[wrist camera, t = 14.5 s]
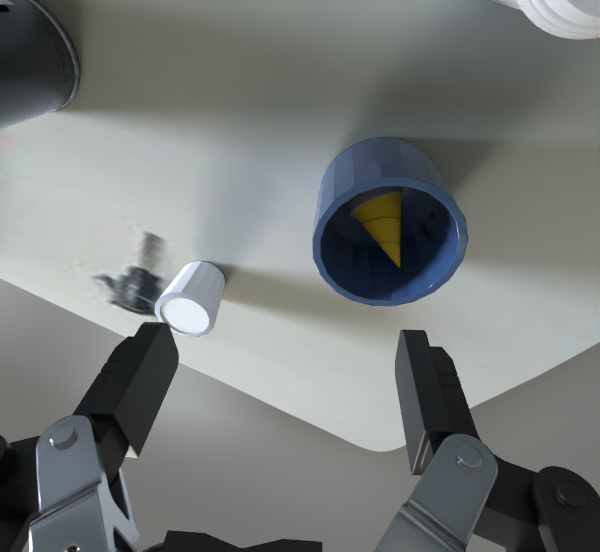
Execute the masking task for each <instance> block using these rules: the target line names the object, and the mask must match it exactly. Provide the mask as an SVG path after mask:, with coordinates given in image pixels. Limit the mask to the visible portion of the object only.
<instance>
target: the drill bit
mask: <svg viewBox="0 0 600 552" xmlns="http://www.w3.org/2000/svg"><path fill="white" fill-rule="evenodd" d="M404 196H405V195H404V192H403V190H402V187H401V186H381V187H378V188H375V189H371V190H368V191H365V192H362V193H359V194H357V195H356V196H354V197H353V198H352V199H351V200H350V201H349V202H348V204H347V209H348V212H349V215H350V217H351V218H354V219H357V220H358V221H359V222H360V223H361V224H362V225H363V227H364V228H365V229H366V230H367V231H368V232H369V234H370V235H371V236H372V237H373V238H374V239H375V241H379V243H378V244H379V245H380V246H381V248H382V249H383V250H384V251H385V252H386V254H387V255H388V256H389V257H390V258H391V259H392V260H393V261H394V263H395V264H396V265H397V266H398V267H400V226H401V223H400V221H401V201H402V200H403V198H404Z"/></svg>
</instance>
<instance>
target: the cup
mask: <svg viewBox="0 0 600 552" xmlns="http://www.w3.org/2000/svg"><path fill="white" fill-rule="evenodd" d="M381 186H401V187H402V190H403V192H404V195H405V196H404V198H403V200H402V201H401V221H400V223H401V226H400V267H398V266H397V265H396V264H395V263H394V261H393V260H392V259H391V258H390V257H389V256H388V255H387V254H386V252H385V251H384V250H383V249H382V248H381V246H380V245H379V244H378V243H379V241H375V239H374V238H373V237H372V236H371V235H370V234H369V232H368V231H367V230H366V229H365V228H364V227H363V225H362V224H361V223H360V222H359V221H358V220H357V219H354V218H351V217H350V215H349V212H348V209H347V204H348V202H349V201H350V200H351V199H352V198H353V197H354V196H356V195H357V194H359V193H362V192H365V191H368V190H371V189H375V188H378V187H381ZM467 242H468V234H467V227H466V219H465V217H464V215H463V213H462V212H461V210H460V208H459V206H458V204H457V203H456V201H455V199H454V197H453V196H452V194H451V192H450V190H449V189H448V187H447V185H446V183H445V182H444V180H443V178H442V176H441V174H440V173H439V171H438V169H437V168H436V166H435V164H434V163H433V161H432V159H431V158H430V157H429V156H428V155H427V154H426V153H425V152H424V151H423V150H422V149H421V148H419V147H418V146H416V145H415V144H413V143H411V142H409V141H405V140H402V139H399V138H393V137H377V138H371V139H367V140H364V141H361V142H358V143H356V144H354V145H352V146H350V147H349V148H347V149H346V150H344V151H343V152H342V153H341V154H339V155H338V156H337V157H336V158H335V159H334V161H333V162H332V163H331V164H330V166H329V167H328V169H327V170H326V172H325V174H324V176H323V179H322V182H321V186H320V190H319V194H318V201H317V209H316V216H315V223H314V231H313V238H312V243H313V259H314V262H315V264H316V267H317V269H318V271H319V274H320V276H321V277H322V278H323V279H324V280H325V281H326V282H327V283H328V285H329V286H330V287H331V288H332V289H333V290H334V291H336V292H337V293H339V294H341V295H343V296H344V297H346V298H348V299H349V300H352V301H355V302H359V303H363V304H366V305H371V306H396V305H401V304H406V303H411V302H413V301H416V300H418V299H421V298H423V297H425V296H427V295H429V294H431V293H433V292H435V291H436V290H437V289H439V288H440V287H441V286H442V285H443V284H445V283H446V282H447V281H448V280H449V279H450V278H451V277H452V276H453V274H454V273H455V271H456V270H457V268H458V267H459V265H460V264H461V262H462V260H463V257H464V254H465V250H466V246H467Z"/></svg>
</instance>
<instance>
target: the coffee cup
mask: <svg viewBox="0 0 600 552" xmlns="http://www.w3.org/2000/svg"><path fill="white" fill-rule="evenodd" d="M490 1H493V2H496V3H499V4H502V5H505V6H508V7H511V8H514V9H517V10H520V11H523V12H524V14H525V15H526V16H527V17H528V18H529V19H530V20H531V21H532V22H533V23H534V24H535V25H536V26H538V27H539V28H541V29H542V30H544V31H546V32H548V33H550V34H552V35H555V36H558V37H562V38H568V39H594V38H600V0H490Z"/></svg>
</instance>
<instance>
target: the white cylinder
mask: <svg viewBox="0 0 600 552" xmlns="http://www.w3.org/2000/svg"><path fill="white" fill-rule="evenodd" d="M224 287H225V278H224V275H223V274H222V272H221V271H220V270H219V269H218V268H217V267H215V266H214V265H212V264H211V263H207V262H204V261H193V262H191V263H189V264H187V265H186V266H185V267H184V268H183V269H182V271H181V272H180V273H179V274H178V276H177V277H176V278H175V279H174V280H173V282H172V283H171V284H170V285H169V287H168V288H167V289H166V290H165V292H164V293H163V294H162V295H161V296H160V298H159V299H158V301H157V302H156V303H155V314H156V316H157V318H158V320H159V321H160V322H165V323H168V325H169V327H170V329H171V331H172V332H174V333H176V334H178V335H182V336H186V337H200V336H203V335H206V334H208V333H209V332H210V331H211V330H212V329H213V328H214V324H215V321H216V317H217V313H218V309H219V306H220V302H221V298H222V295H223V291H224Z"/></svg>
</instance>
